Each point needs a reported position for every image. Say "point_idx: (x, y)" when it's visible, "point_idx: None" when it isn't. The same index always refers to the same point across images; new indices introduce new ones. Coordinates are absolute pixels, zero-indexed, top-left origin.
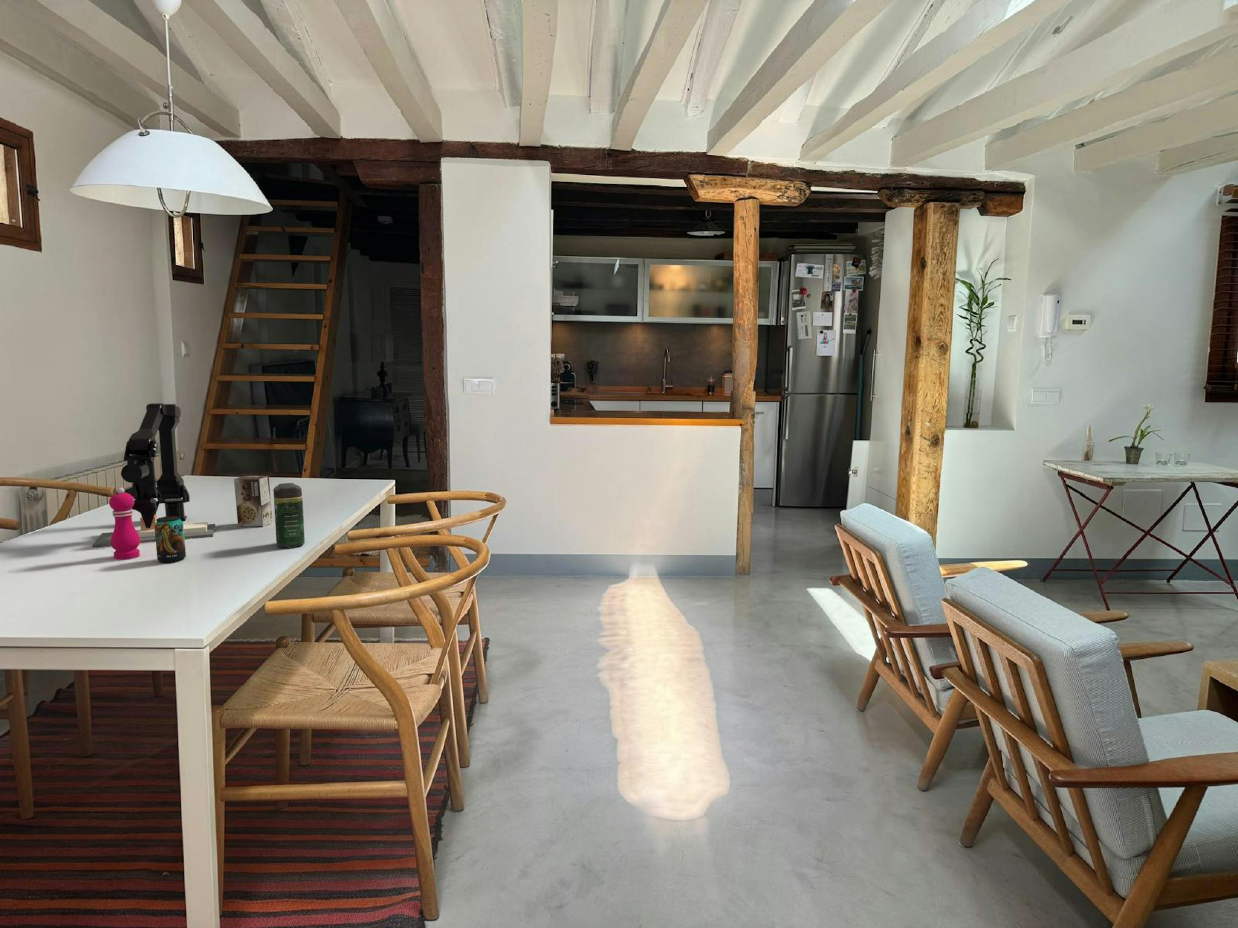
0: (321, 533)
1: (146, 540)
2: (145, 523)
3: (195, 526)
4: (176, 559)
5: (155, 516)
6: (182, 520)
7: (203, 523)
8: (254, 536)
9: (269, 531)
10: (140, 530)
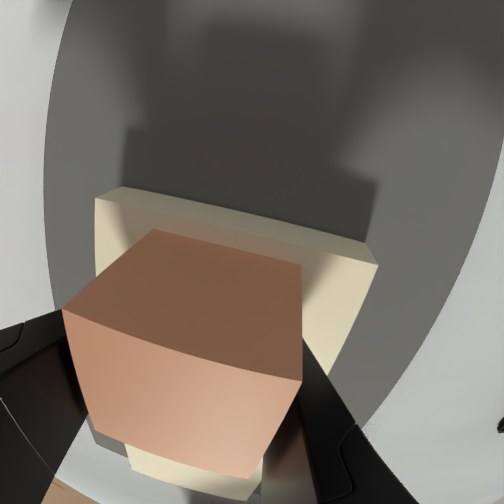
0: (87, 494)
1: (46, 227)
2: None
3: (163, 465)
4: None
5: (150, 448)
6: (502, 422)
7: (220, 491)
8: (81, 464)
9: (128, 493)
10: (177, 224)
